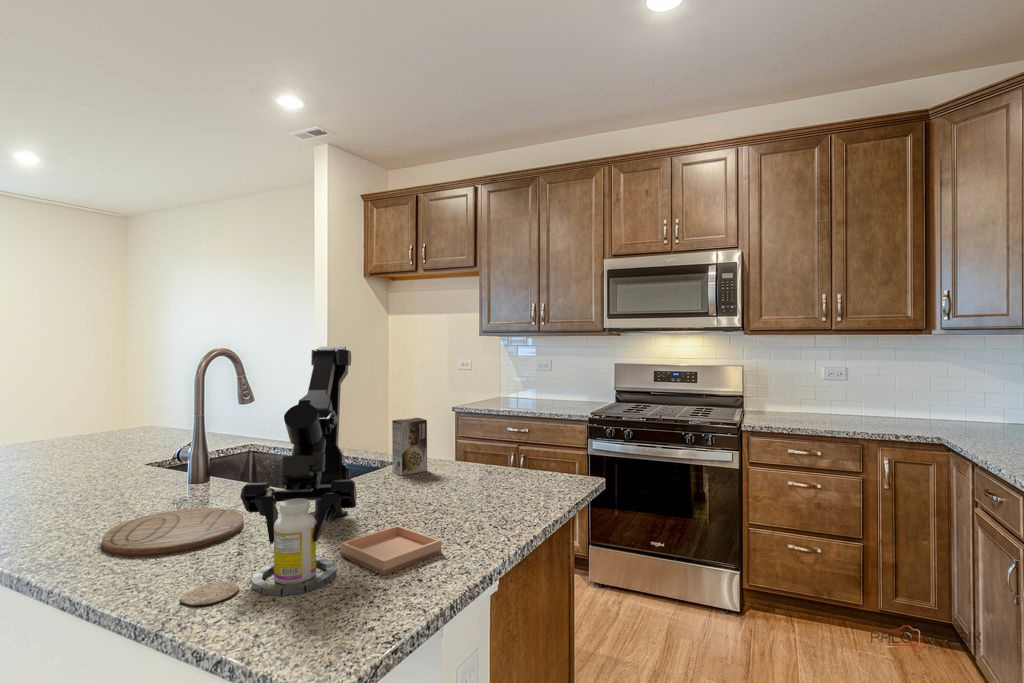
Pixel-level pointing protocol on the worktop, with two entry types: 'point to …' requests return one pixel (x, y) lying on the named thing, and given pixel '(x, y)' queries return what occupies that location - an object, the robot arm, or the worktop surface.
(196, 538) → the trivet
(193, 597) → the flatbread
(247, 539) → the worktop surface
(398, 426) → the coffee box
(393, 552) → the tray
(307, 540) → the supplement bottle
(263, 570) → the seat ring
